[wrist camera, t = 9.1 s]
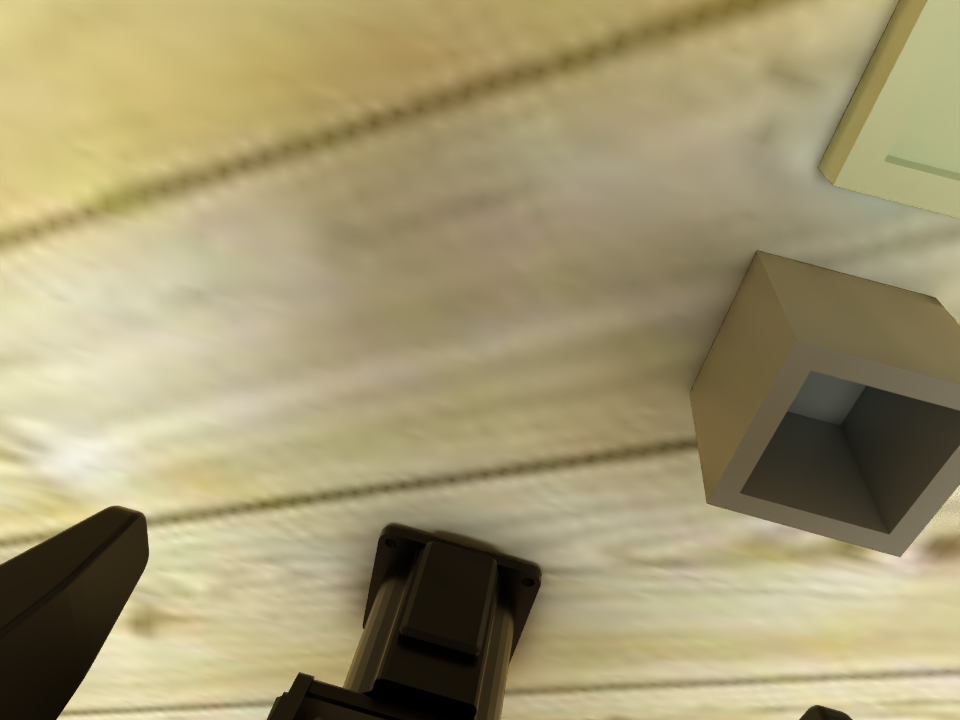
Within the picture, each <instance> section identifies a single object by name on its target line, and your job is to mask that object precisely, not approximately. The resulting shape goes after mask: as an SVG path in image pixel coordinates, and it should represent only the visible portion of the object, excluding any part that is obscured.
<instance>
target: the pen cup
mask: <svg viewBox="0 0 960 720" xmlns="http://www.w3.org/2000/svg"><path fill="white" fill-rule="evenodd" d="M690 398H691V405H692V411H693V418H694V424H695V430H696V437H697V443H698V450H699V456H700V463H701V469H702V476H703V482H704V489H705V495H706V502H707V504H710V505H714V506H717V507H721V508H725V509H728V510H732V511H735V512H739V513H743V514H746V515H750V516H753V517H757V518H761V519H764V520H768V521H771V522H775V523H779V524H782V525H786V526H789V527H793V528H797V529H800V530H804V531H807V532H811V533H815V534H818V535H822V536H825V537H829V538H833V539H836V540H840V541H843V542H847V543H851V544H854V545H858V546H861V547H865V548H869V549H872V550H876V551H880V552H883V553H887V554H890V555H894V556H898V557H901V556H902V554H903V553H904V552H905V551H906V550H907V548H908V547H909V546H910V545H911V543H912V542H913V541H914V540H915V539H916V537H917V536H918V535H919V534H920V532H921V531H922V530H923V529H924V528H925V526H926V525H927V524H928V523H929V521H930V520H931V519H932V518H933V517H934V515H935V514H936V513H937V512H938V510H939V509H940V508H941V507H942V506H943V504H944V503H945V502H946V501H947V499H948V498H949V497H950V496H951V495H952V493H953V492H954V491H955V490H956V488H957V487H958V486H959V485H960V325H959V324H958V323H957V322H956V320H955V319H954V318H953V317H952V316H951V315H950V314H949V312H948V311H947V310H946V309H945V308H944V307H943V306H942V304H941V303H940V302H939V301H938V300H937V299H936V298H934V297H930V296H926V295H923V294H919V293H915V292H911V291H908V290H904V289H900V288H896V287H893V286H889V285H885V284H881V283H877V282H874V281H870V280H866V279H862V278H859V277H855V276H851V275H847V274H844V273H840V272H836V271H832V270H828V269H825V268H821V267H817V266H813V265H810V264H806V263H802V262H798V261H795V260H791V259H787V258H783V257H780V256H776V255H772V254H768V253H764V252H761V251H757V252H756V254H755V256H754V258H753V261H752V263H751V265H750V267H749V269H748V271H747V273H746V275H745V277H744V280H743V282H742V284H741V286H740V288H739V290H738V292H737V294H736V297H735V299H734V301H733V303H732V305H731V307H730V309H729V311H728V313H727V316H726V318H725V320H724V322H723V324H722V326H721V328H720V330H719V333H718V335H717V337H716V339H715V341H714V343H713V345H712V347H711V350H710V352H709V354H708V356H707V358H706V360H705V362H704V364H703V366H702V369H701V371H700V373H699V375H698V377H697V379H696V381H695V383H694V386H693V388H692V390H691V392H690Z"/></svg>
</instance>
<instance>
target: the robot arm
mask: <svg viewBox="0 0 960 720" xmlns="http://www.w3.org/2000/svg"><path fill="white" fill-rule="evenodd" d="M392 539H394V540H392ZM148 557H149V546H148V534H147V523H146V517H145V516H144V514H143V513H141V512H139V511H136V510H132V509H129V508H125V507H122V506H111V507H108V508H106V509H104V510H102V511H100V512H98V513H96V514H95V515H93V516H91V517H89V518H87V519H85V520H83V521H81V522H80V523H78V524H76V525H74V526H72V527H70V528H68V529H66V530H65V531H63V532H61V533H59V534H57V535H55V536H53V537H51V538H50V539H48V540H46V541H44V542H42V543H40V544H38V545H36V546H35V547H33V548H31V549H29V550H27V551H25V552H23V553H21V554H20V555H18V556H16V557H14V558H12V559H10V560H8V561H6V562H5V563H3V564H1V565H0V720H56V719H57V718H58V716H59V715H60V713H61V712H62V711H63V709H64V708H65V706H66V705H67V703H68V702H69V700H70V699H71V697H72V696H73V695H74V693H75V691H76V690H77V688H78V687H79V685H80V684H81V682H82V681H83V679H84V678H85V676H86V674H87V673H88V671H89V669H90V667H91V666H92V664H93V662H94V661H95V659H96V657H97V655H98V653H99V652H100V650H101V648H102V646H103V644H104V642H105V641H106V639H107V637H108V635H109V633H110V632H111V630H112V628H113V626H114V624H115V622H116V621H117V619H118V617H119V615H120V613H121V612H122V610H123V608H124V606H125V604H126V602H127V601H128V599H129V597H130V595H131V593H132V592H133V590H134V588H135V586H136V584H137V583H138V581H139V579H140V577H141V575H142V573H143V572H144V570H145V567H146V565H147V561H148ZM541 576H542V574H541V571H540V570H539V569H538V568H537V567H534V566H532V565H528V564H525V563H521V562H518V561H514V560H511V559H507V558H504V557H500V556H496V555H493V554H489V553H486V552H482V551H479V550H475V549H472V548H468V547H465V546H461V545H458V544H454V543H450V542H447V541H443V540H440V539H436V538H433V537H429V536H426V535H422V534H419V533H415V532H412V531H408V530H404V529H401V528H397V527H392V526H390V527H386V528H384V529H383V531H382V533H381V535H380V538H379V541H378V546H377V551H376V557H375V562H374V568H373V573H372V578H371V584H370V589H369V594H368V600H367V605H366V610H365V616H364V621H363V629H364V631H363V634H362V637H361V639H360V642H359V645H358V648H357V650H356V653H355V656H354V658H353V661H352V664H351V667H350V669H349V672H348V675H347V678H346V680H345V683H344V686H343V688H342V687H338V686H335V685H331V684H328V683H324V682H321V681H318V680H314V676H311V675H307V674H304V673H301V672H299V673H298V675H297V677H296V679H295V681H294V683H293V685H292V687H291V688H290V690H289V692H288V693H287V692H284V693H283V695H282V696H280V697H277V698H276V700H275V702H274V705H273V707H272V709H271V711H270V714H269V716H268V718H267V720H500V719H501V712H502V706H503V699H504V692H505V686H506V679H507V672H508V666H509V663H510V661H511V658H512V656H513V653H514V651H515V648H516V646H517V643H518V641H519V638H520V636H521V633H522V631H523V628H524V626H525V623H526V621H527V618H528V615H529V613H530V610H531V608H532V605H533V603H534V600H535V598H536V595H537V593H538V590H539V588H540V585H541ZM526 577H528V578H526ZM799 720H852V719H851V718H850V717H849V716H848V715H847V714H845V713H843V712H841V711H838V710H834V709H831V708H827V707H824V706H820V705H815V706H812V707H810V708H809V709H808V710H807V711H806V712H805V714H804V715H803V716H802V717H801V718H800V719H799Z"/></svg>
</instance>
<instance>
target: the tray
mask: <svg viewBox="0 0 960 720" xmlns="http://www.w3.org/2000/svg"><path fill="white" fill-rule="evenodd" d="M818 168H819V169H820V171H821V172H822V173H823V174H824V175H825V177H826V178H827V179H828V180H829V181H830V182H831V184H832V185H833V186H837V187H841V188H844V189H848V190H852V191H856V192H860V193H863V194H867V195H871V196H875V197H879V198H883V199H886V200H890V201H894V202H898V203H902V204H906V205H909V206H913V207H917V208H921V209H925V210H928V211H932V212H936V213H940V214H944V215H948V216H951V217H955V218H959V219H960V0H900V1H899V3H898V5H897V7H896V9H895V11H894V13H893V15H892V17H891V19H890V21H889V23H888V25H887V27H886V29H885V32H884V34H883V36H882V38H881V40H880V42H879V44H878V46H877V48H876V50H875V52H874V54H873V56H872V58H871V60H870V62H869V64H868V66H867V68H866V70H865V72H864V74H863V76H862V78H861V81H860V83H859V85H858V87H857V89H856V91H855V93H854V95H853V97H852V99H851V101H850V103H849V105H848V107H847V109H846V111H845V113H844V115H843V117H842V119H841V121H840V123H839V125H838V128H837V130H836V132H835V134H834V136H833V138H832V140H831V142H830V144H829V146H828V148H827V150H826V152H825V154H824V156H823V158H822V160H821V162H820V164H819V166H818Z"/></svg>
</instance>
